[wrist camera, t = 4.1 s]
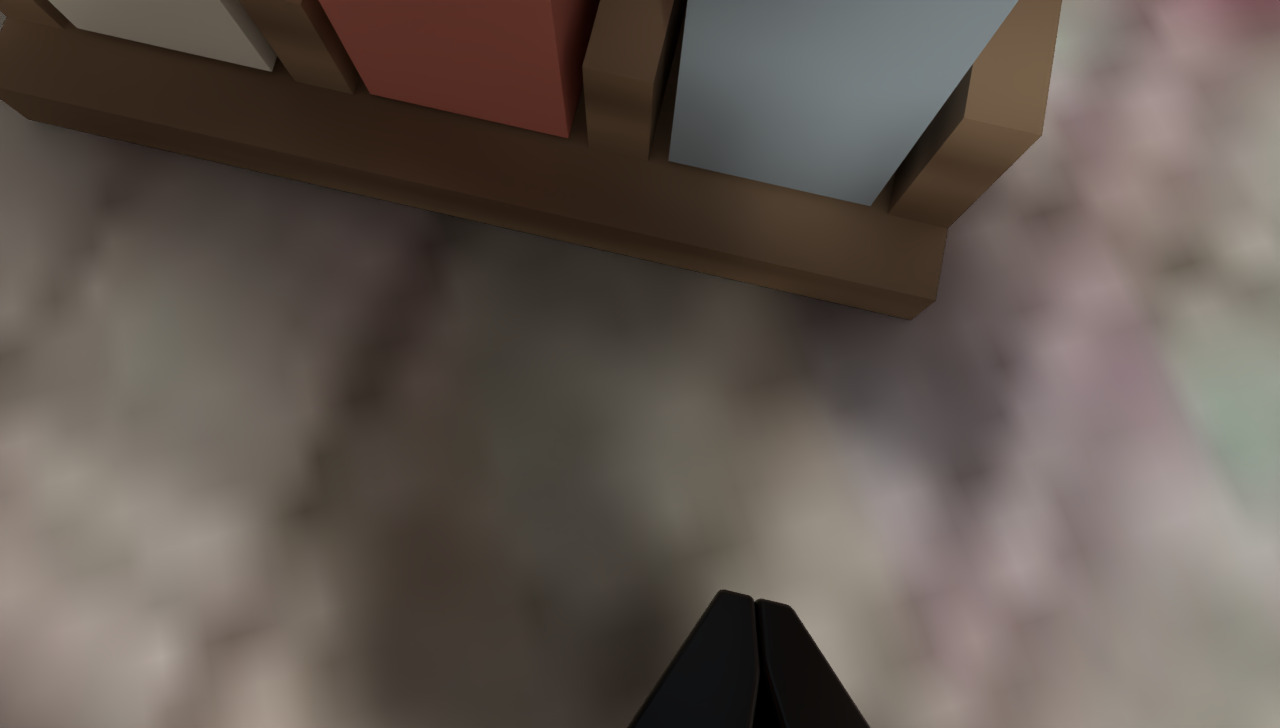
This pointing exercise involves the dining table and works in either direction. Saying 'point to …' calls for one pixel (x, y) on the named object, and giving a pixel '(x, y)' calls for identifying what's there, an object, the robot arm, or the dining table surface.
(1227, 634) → the dining table surface
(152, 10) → the white key
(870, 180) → the grey rectangular block
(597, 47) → the key console
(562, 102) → the red key
